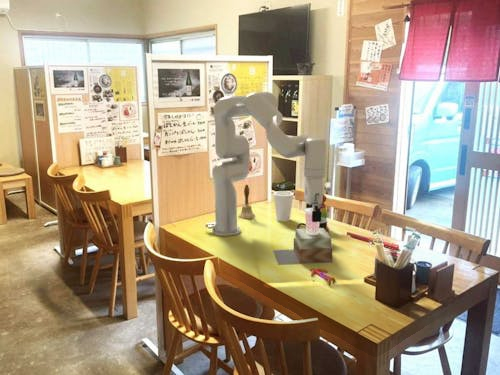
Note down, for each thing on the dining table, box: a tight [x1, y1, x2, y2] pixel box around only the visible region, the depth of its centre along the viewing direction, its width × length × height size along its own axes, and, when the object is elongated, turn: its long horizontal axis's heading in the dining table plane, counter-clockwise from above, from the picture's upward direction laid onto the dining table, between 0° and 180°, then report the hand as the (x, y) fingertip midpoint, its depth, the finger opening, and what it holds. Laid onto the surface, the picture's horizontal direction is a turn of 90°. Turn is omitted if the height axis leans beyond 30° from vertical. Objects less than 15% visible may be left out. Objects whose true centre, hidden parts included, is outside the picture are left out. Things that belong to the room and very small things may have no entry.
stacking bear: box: [315, 193, 330, 233], centre depth 203 cm, size 11×10×18 cm
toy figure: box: [308, 267, 336, 286], centre depth 154 cm, size 8×12×3 cm
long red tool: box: [346, 231, 400, 251], centre depth 187 cm, size 24×2×5 cm
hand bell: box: [238, 184, 256, 220], centre depth 221 cm, size 8×8×16 cm
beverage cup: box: [304, 205, 320, 235], centre depth 167 cm, size 6×6×14 cm
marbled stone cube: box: [293, 228, 333, 263], centre depth 170 cm, size 12×12×9 cm
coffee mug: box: [296, 217, 328, 230], centre depth 186 cm, size 12×9×10 cm
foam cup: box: [273, 190, 294, 223], centre depth 216 cm, size 10×9×13 cm
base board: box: [272, 248, 334, 266], centre depth 170 cm, size 20×14×1 cm
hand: (313, 217), depth 167 cm, fingers open, 9 cm apart
